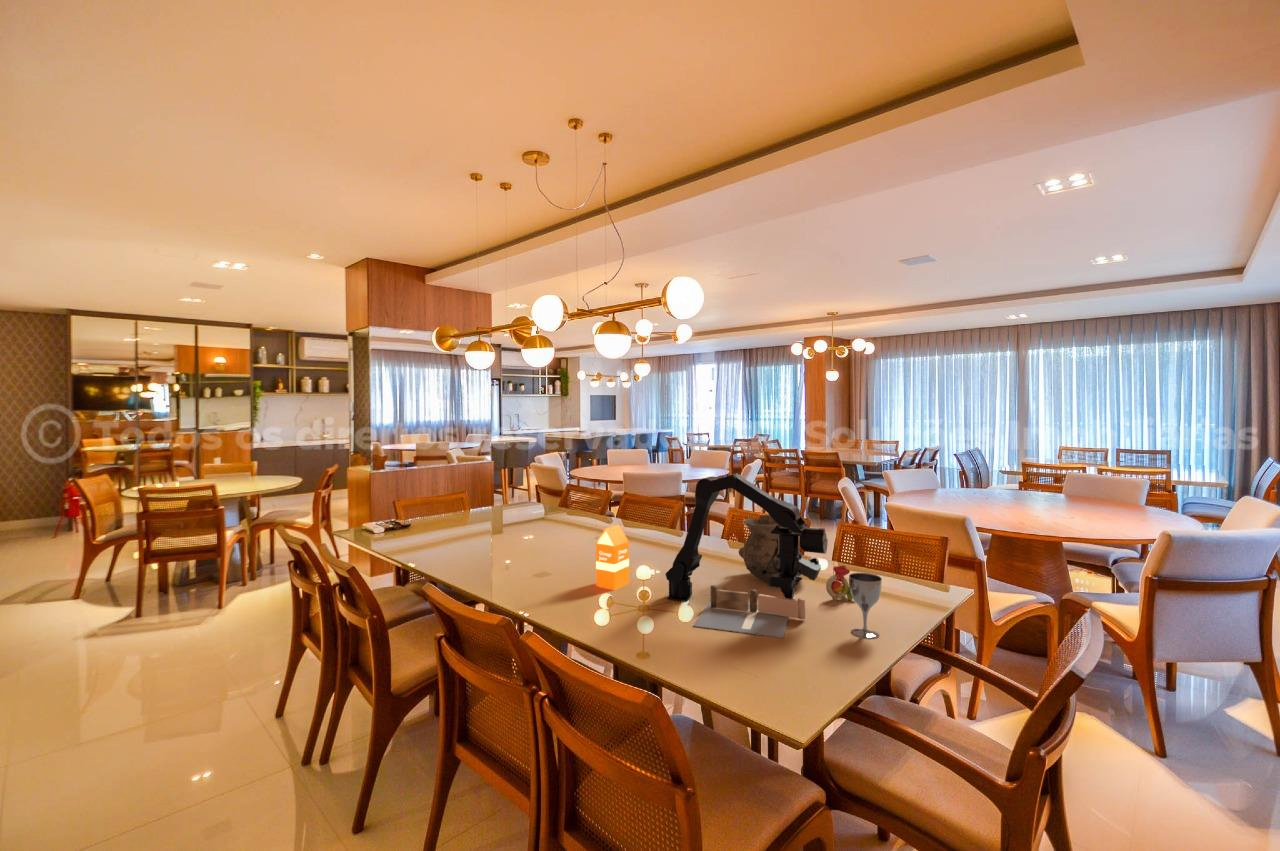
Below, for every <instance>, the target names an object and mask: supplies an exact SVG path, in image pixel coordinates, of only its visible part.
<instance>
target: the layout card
mask: <svg viewBox="0 0 1280 851" xmlns="http://www.w3.org/2000/svg"><path fill="white" fill-rule="evenodd" d="M789 618H790V617H787V616H781V615H775V614H769V613H763V612H758V604H757V612H750V603H748V611H740V610H732V609H723V608H711V599H710V600H709V602H707V604H706V606H705V607H704V609H703V610H702V612H701V613H700V614H699V616H698V618H697V619H696V621H695V622H694V623H693V625H692V627H693V626H695V627H694V628H699V627H701V629H707V628H709V629H708V630H715V629H718V630H717V631H723V630H724V631H725V632H730V631H732V632H731V633H738V632H739V634H746V633H747V634H746V635H748V634H749V635H754V634H756V636H762V635H763V636H764V637H770V638H777V637H778V638H779V639H784V638H785V637H784V636H785V632H786V629H787V625H788V621H789ZM763 636H762V637H763Z"/></svg>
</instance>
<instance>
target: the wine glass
mask: <svg viewBox="0 0 1280 851" xmlns="http://www.w3.org/2000/svg"><path fill="white" fill-rule="evenodd" d="M848 577H849V578H848V584H849V587H850V592H851V596H852V598H853V599H852V600H853V601H854V602H855V603H856V605H858V607H859V608H860V609H861V613H862V620H863V627H856V628H853V629H851V630H850V634H851V635H853V636H855V637H856V638H860V639H865V640H875V639H878V638H880V633H879V632H877V631H876V630H874V629H870V628H867V627H868V626H867V624H868V623H867V621H868V615H869V612H870V610H871V609H872V607H873V606H874V605H875V604H877V602H878V601H879V600H880V598H881V593H882V577H881V576H880V575H878V574H873V573H870V572H869V573H868V572H852V573H849V575H848Z"/></svg>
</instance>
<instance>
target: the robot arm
mask: <svg viewBox="0 0 1280 851" xmlns="http://www.w3.org/2000/svg"><path fill="white" fill-rule="evenodd" d="M728 489H732V490H734V491H735V492H737V493H739V494H740V495H742V496H743V497H744V498H747V500H749V501H751V502H752V503H754V504H755V505H757V506H759V507H760V508H761V509H763V510H764V511H765V512H766V514H767V515H770V517H771V518H772V519H773V520H774V521H775V522H777V523H778V525H776V527H775V528H774V529H773V530H772V531H771V533H772V534H778V553H777V554H776V557H777V558H779V567H778V568H777V572H781V574H778V573H776V574H774V575H773V576H772V577H771V578H770V579H769V582H768V587H771V588H775V589H776V588H777V589H780V591H781V592H782V595H783V598H789V599H794V596H795V591H796V588H797V585H799V583H800V582H801V581H802V580H803V577H801V576H804V577H806V578H808V580H811V581H816V579H817V578H818V577H819V574H820V571H821V569H822V567H821V565H820V560H819V558H817V557H811V558H810V559H809V558H808V559H809V560H808V559H805V558H803V553H802V552H800V549H801V550H803V552H805V553H813V554H814V553H815V554H825V555H826V553H827V551H828V541H829V540H828V537H827V533H826V528H823V527H820V528H819V527H818V528H816V527H809V525H808V524H807V522H806V521H805V520H804V518H803V517H802V515H801V510H800V509H799V507H798V506H796V505H794V504H792V503H790V502H787V501H785V500H781V499H779V498H776V497H774V496H772V495H771V494H769V493H767V492H766V491H764V490H763V489H761V488H759V487H758V486H756V485H755V484H754V483H751V481H748V480H747V479H745V478H744V477H743V476H742V475H741V474H739V473H733V474H730V475H727V476H723V477H719V478H718V477H716V476H713V475H712V476H708V477H707V476H706V477H704V478H701V479H699V480H698V481H697V483H696V485H695V491H694V492H695V493H694V498H695V506H694V509H693V513H692V516H691V519H690V522H689V525H688V526H689V527H688V529H687V532H686V536H685V540H684V542H683V545H682V547H681V548H680V550H679V551H678V553H676V556H675V559H673V563H672V567H671V568H669V570H667V571H666V572H665V578H666V580H667V581H668V596H667V598H666V599H667V600H676V601H685V602H688V600H690V599H691V597H692V596H693V582H692V581H691V576H692V574H693V572H694V571H696V569H697V568H699V567H700V565H701V564H700V562H701V559H702V557H703V555H702V554H700V553H699V545H700V543H701V539H702V536H703V533H704V529H705V527H706V526H705V525H706V522H707V519H708V515H709V512H710V509H711V507H712V506H713V504H714V503H715V501H716V500H717V498H718V496H719V494H720V492H721V491H724V490H728ZM798 573H800V574H801V576H799V577H798Z"/></svg>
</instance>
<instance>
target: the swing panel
mask: <svg viewBox="0 0 1280 851" xmlns="http://www.w3.org/2000/svg"><path fill="white" fill-rule="evenodd" d="M757 605H758V612H763V613H769V614H775V615H781V616H787V617H789V618H795V619H799V620H805V619H806V598H803V597H799V598H797V599H794V598H793V599H789V598H785V597H784V596H783V597H780V596H776V595H775V596H774V595H769V594H768V595H767V594H762V593H759V594H757Z"/></svg>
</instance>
